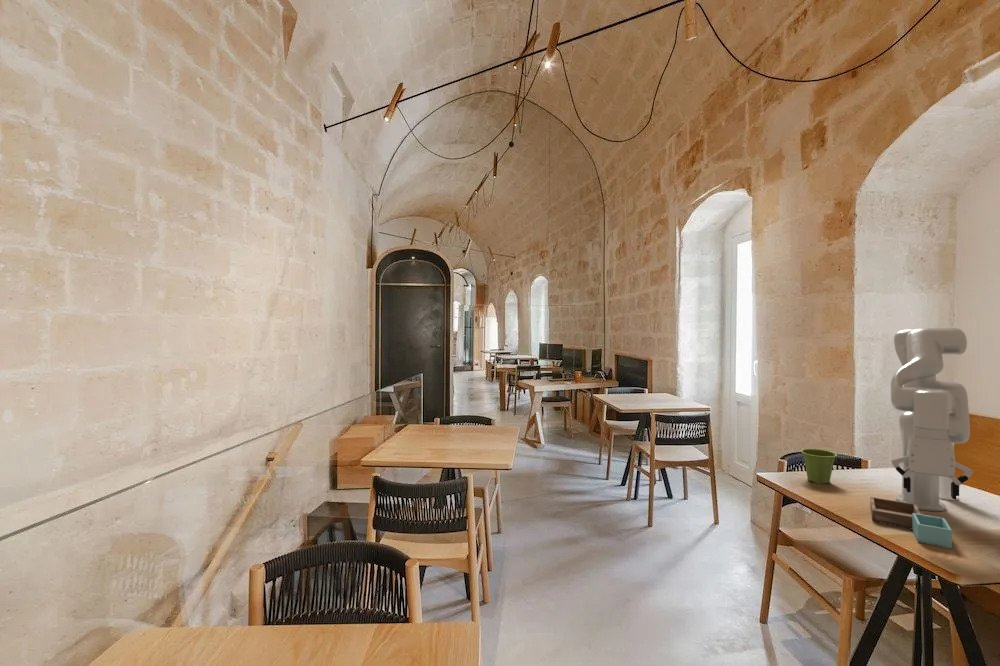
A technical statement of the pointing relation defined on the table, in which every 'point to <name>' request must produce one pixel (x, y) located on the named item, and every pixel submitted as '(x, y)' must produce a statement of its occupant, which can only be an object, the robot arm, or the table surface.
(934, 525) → the teal crate
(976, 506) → the table surface
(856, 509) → the table surface
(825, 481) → the plant pot
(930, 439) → the robot arm
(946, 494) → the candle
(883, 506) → the walnut crate
